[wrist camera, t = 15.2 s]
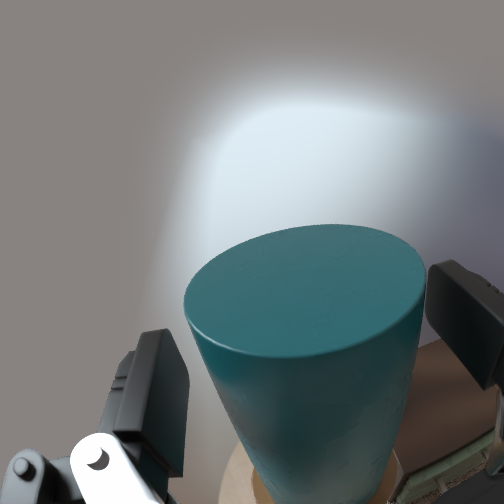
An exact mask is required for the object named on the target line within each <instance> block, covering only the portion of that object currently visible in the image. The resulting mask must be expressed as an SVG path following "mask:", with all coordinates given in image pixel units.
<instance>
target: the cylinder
mask: <svg viewBox="0 0 504 504" xmlns="http://www.w3.org/2000/svg"><path fill="white" fill-rule="evenodd" d="M425 290H426V270H425V266H424V263H423V261H422V259H421V257H420V255H419V254H418V253H417V252H416V250H415V249H414V248H413V247H411V246H410V245H409V244H408V243H406V242H405V241H403V240H402V239H400V238H398V237H396V236H394V235H392V234H389V233H386V232H384V231H380V230H376V229H373V228H368V227H363V226H354V225H339V224H327V225H326V224H325V225H311V226H302V227H296V228H290V229H285V230H280V231H276V232H273V233H269V234H265V235H262V236H259V237H256V238H253V239H250V240H248V241H245V242H243V243H241V244H238V245H236V246H234V247H232V248H230V249H228V250H226V251H225V252H223V253H221V254H219V255H218V256H216V257H215V258H213V259H212V260H211V261H209V262H208V263H207V264H206V265H205V266H203V267H202V268H201V269H200V270H199V271H198V273H196V275H195V276H194V277H193V278H192V280H191V281H190V283H189V285H188V287H187V289H186V292H185V295H184V305H183V306H184V312H185V316H186V319H187V321H188V324H189V326H190V329H191V331H192V334H193V336H194V338H195V341H196V344H197V346H198V348H199V351H200V353H201V356H202V358H203V360H204V363H205V365H206V367H207V370H208V372H209V374H210V377H211V379H212V381H213V383H214V386H215V388H216V390H217V392H218V395H219V397H220V399H221V401H222V403H223V405H224V408H225V410H226V412H227V414H228V416H229V418H230V420H231V422H232V424H233V426H234V428H235V430H236V432H237V434H238V436H239V439H240V441H241V442H242V444H243V446H244V448H245V450H246V452H247V454H248V456H249V458H250V460H251V462H252V464H253V466H254V468H255V469H256V471H257V473H258V475H259V477H260V479H261V480H262V482H263V484H264V486H265V488H266V489H267V491H268V493H269V495H270V496H271V498H272V500H273V501H274V503H275V504H366V503H367V502H368V501H369V500H370V499H371V498H372V497H373V495H374V494H375V493H376V491H377V489H378V487H379V485H380V482H381V480H382V477H383V475H384V472H385V469H386V466H387V464H388V461H389V458H390V455H391V452H392V449H393V446H394V443H395V440H396V437H397V433H398V430H399V427H400V423H401V420H402V416H403V413H404V409H405V405H406V401H407V397H408V393H409V389H410V384H411V380H412V375H413V370H414V366H415V360H416V355H417V350H418V344H419V338H420V331H421V324H422V317H423V309H424V300H425Z"/></svg>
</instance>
